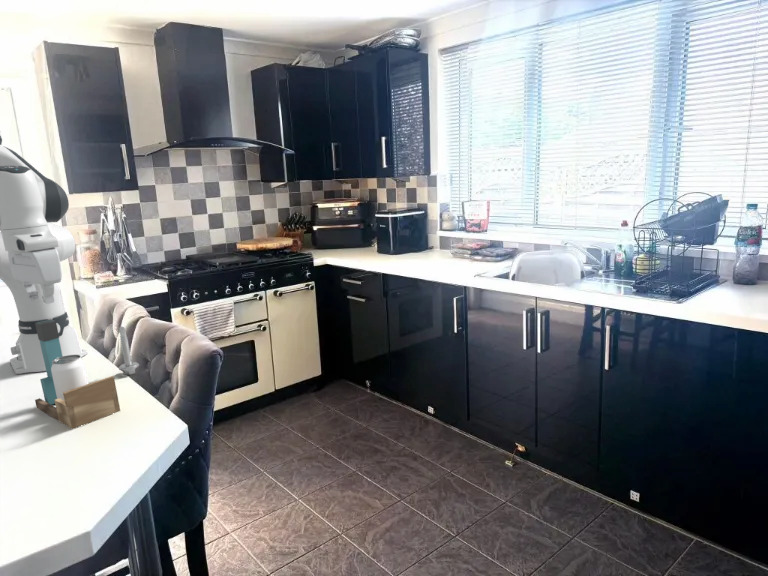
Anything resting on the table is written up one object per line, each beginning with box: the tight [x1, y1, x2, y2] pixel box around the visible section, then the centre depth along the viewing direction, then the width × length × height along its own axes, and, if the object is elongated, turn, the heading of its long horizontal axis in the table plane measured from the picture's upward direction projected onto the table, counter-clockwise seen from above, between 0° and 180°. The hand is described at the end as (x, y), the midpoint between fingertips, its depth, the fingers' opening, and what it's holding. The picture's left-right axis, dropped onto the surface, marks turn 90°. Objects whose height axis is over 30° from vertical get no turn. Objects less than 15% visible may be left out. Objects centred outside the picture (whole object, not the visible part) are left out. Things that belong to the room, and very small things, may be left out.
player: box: [35, 319, 63, 405], centre depth 125 cm, size 3×6×19 cm, turn 141°
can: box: [51, 355, 89, 401], centre depth 121 cm, size 6×6×12 cm
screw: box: [118, 326, 140, 376], centre depth 141 cm, size 13×5×5 cm
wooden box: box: [34, 375, 121, 430], centre depth 121 cm, size 20×10×8 cm, turn 51°
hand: (41, 301), depth 122 cm, fingers open, 8 cm apart
